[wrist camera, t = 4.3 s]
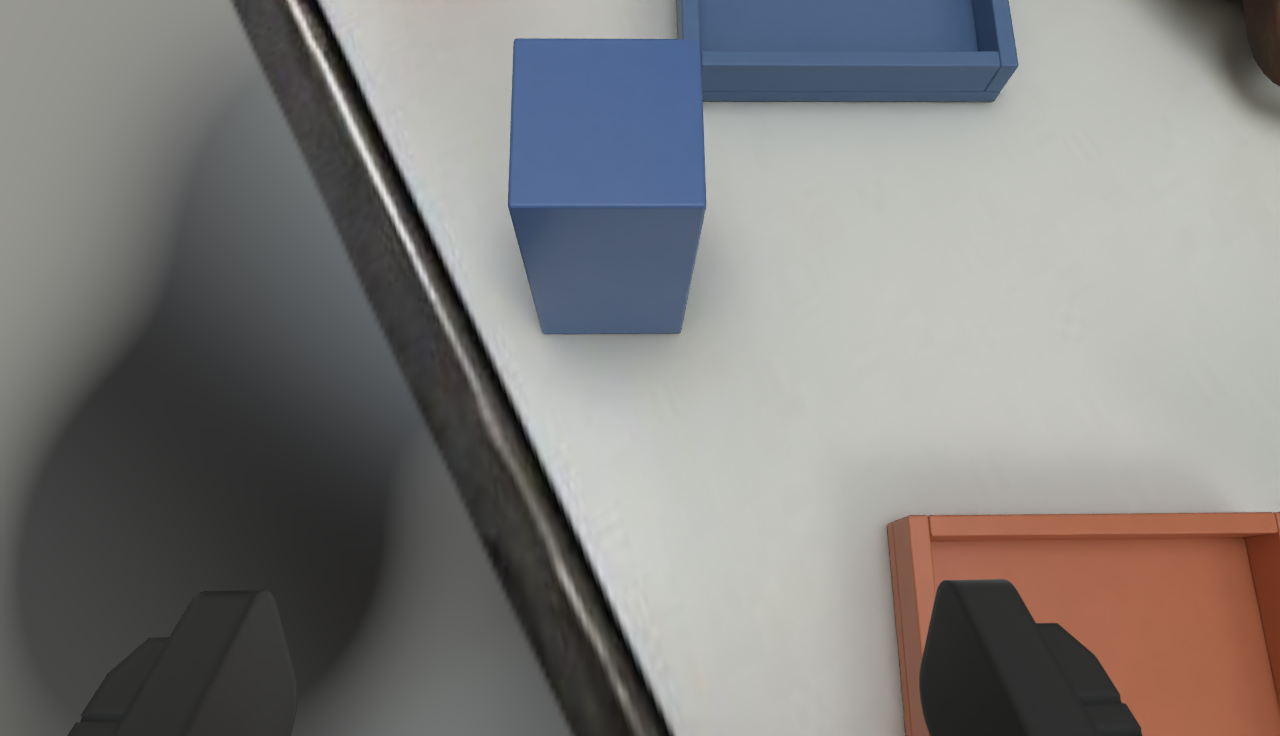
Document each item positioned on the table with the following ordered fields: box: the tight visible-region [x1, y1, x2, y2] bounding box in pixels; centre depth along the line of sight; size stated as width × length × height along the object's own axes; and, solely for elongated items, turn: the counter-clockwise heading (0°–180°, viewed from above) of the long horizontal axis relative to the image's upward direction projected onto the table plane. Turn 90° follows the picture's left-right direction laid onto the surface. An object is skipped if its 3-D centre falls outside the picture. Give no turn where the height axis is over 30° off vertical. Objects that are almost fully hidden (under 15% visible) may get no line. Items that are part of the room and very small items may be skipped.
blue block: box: [508, 39, 706, 334], centre depth 25 cm, size 4×4×9 cm
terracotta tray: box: [887, 512, 1280, 736], centre depth 24 cm, size 11×11×2 cm
